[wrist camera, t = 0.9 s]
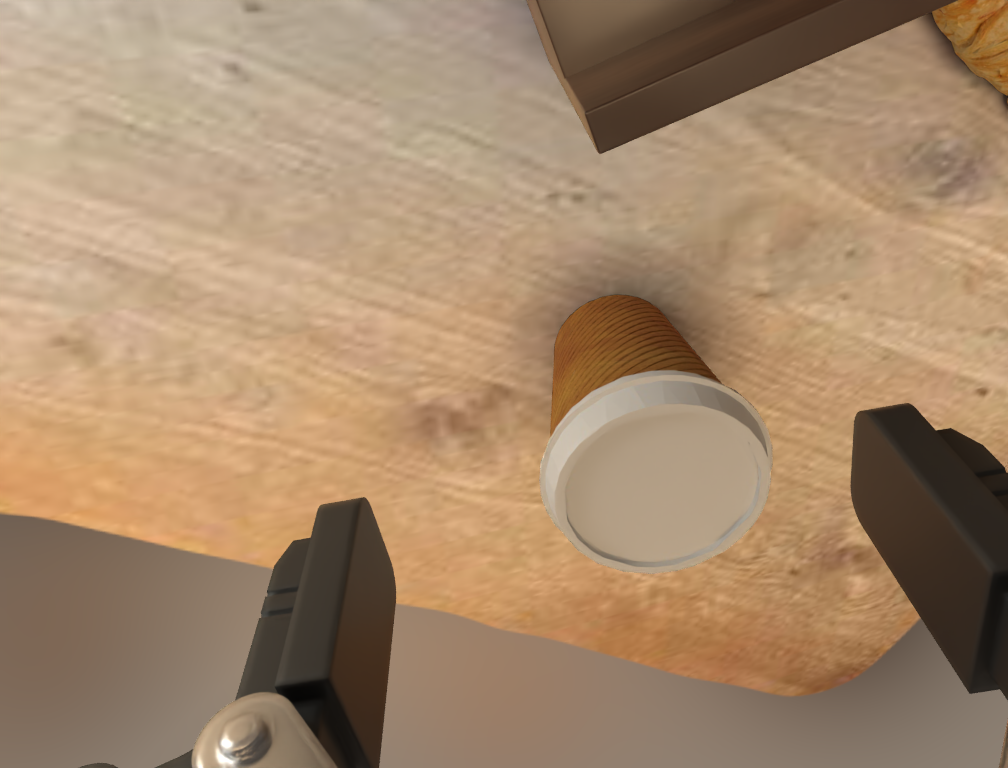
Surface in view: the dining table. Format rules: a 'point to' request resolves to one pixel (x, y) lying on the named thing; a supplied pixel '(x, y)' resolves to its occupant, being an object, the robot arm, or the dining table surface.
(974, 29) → the croissant
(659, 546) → the disposable coffee cup
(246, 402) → the dining table surface
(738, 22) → the walnut shelf
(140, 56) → the dining table surface
